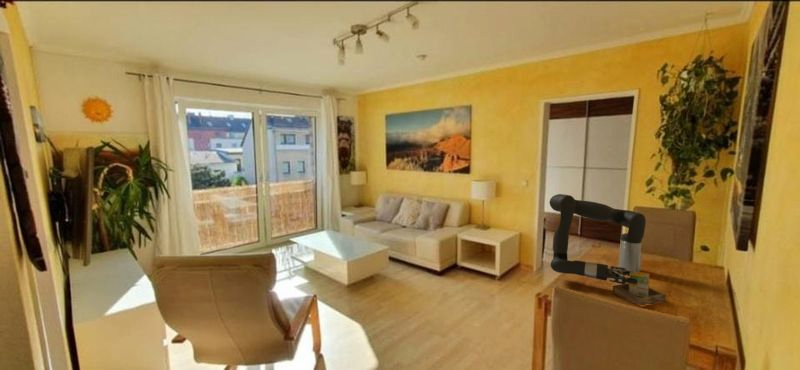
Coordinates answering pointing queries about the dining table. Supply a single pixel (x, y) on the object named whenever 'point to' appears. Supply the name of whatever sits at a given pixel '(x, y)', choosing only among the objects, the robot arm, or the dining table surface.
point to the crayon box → (639, 284)
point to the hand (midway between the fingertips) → (637, 278)
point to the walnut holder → (651, 299)
